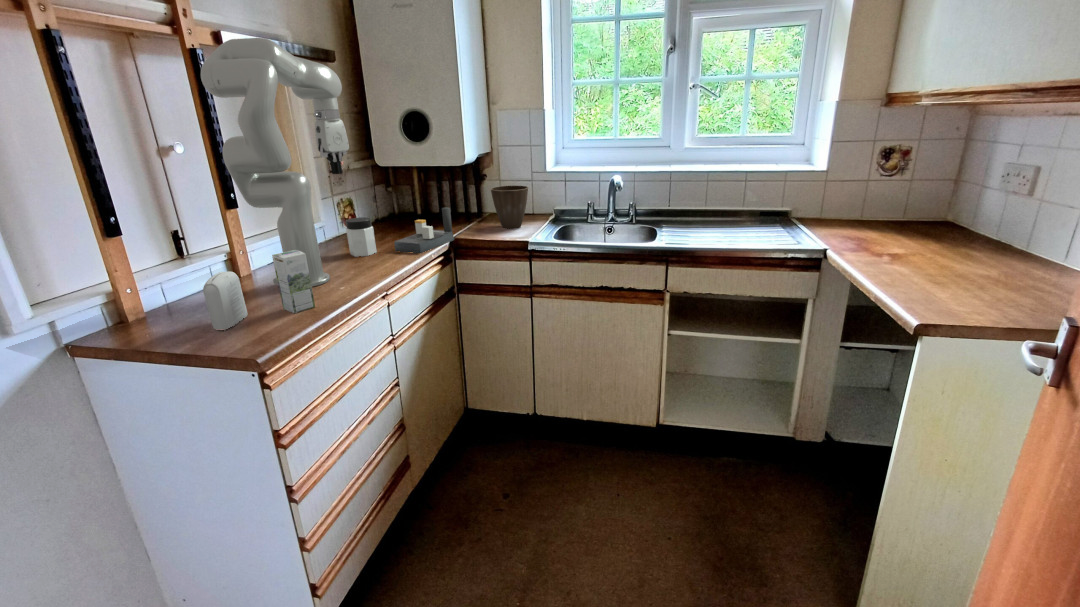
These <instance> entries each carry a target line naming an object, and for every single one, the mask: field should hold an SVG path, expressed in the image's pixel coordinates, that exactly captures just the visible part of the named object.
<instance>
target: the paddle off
mask: <svg viewBox="0 0 1080 607" xmlns="http://www.w3.org/2000/svg"><path fill="white" fill-rule="evenodd" d="M421 228H422V236H423V239H431V238H434V235H433V230H434V227H433V225H431V226H430V225H426V226H424V227H421Z"/></svg>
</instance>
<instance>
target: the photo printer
mask: <svg viewBox="0 0 1080 607" xmlns="http://www.w3.org/2000/svg"><path fill="white" fill-rule="evenodd" d="M202 292H203V295H204V299H205V304H206V307H207V310H208V314H209V318H210V322H211V325H212V329H213V330H214V329H219V330H220V329H227V328H230V327H232V326H233V327H234V326H236V325H237V324H239V323H240V322H241V321H243V318H244V319H245V318H246V317H248V310H247V309H248V308H247V306H246V302H245V297H244V294H243V290H242V286H241V281H240V278H239V276H238V275H237V274H236V273H235V272H233V271H231V270H230V271H220V272H218V273H215V274H214V275H212V276H211V277H210V278H209V279H207V281H206V282H205V283H204V285H203V287H202ZM239 321H240V322H239ZM235 324H236V325H235ZM233 327H232V328H233ZM230 329H231V328H230Z"/></svg>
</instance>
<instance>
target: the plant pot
mask: <svg viewBox="0 0 1080 607" xmlns="http://www.w3.org/2000/svg"><path fill="white" fill-rule="evenodd" d="M490 192H491V198H492V202H493V205H494V209H495V212H496V214H497V218H498V219H499V220H498V221H499V222H500V225H501V227H502V229H504V230H517V229H520V228H521V227H522V224H523V222H524V216H525V213H526V209H527V204H528V203H527V201H528V195H529V194H528V193H529V187H528V186H527V185H501V186H495V187H491V188H490Z"/></svg>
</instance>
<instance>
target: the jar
mask: <svg viewBox="0 0 1080 607" xmlns="http://www.w3.org/2000/svg"><path fill="white" fill-rule="evenodd" d="M345 224H346V228H345V229H346V237H347V242H348V249H349V254H350V255H351V256H353V257H355V258H356V257H357V258H359V256H361V257H369V255H370V256H371V255H375V254H377V245H376V239H375V231H374V226H373V225H372V219H371V218H370V217H354V218H348V219H346V220H345ZM374 253H375V254H374Z"/></svg>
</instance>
